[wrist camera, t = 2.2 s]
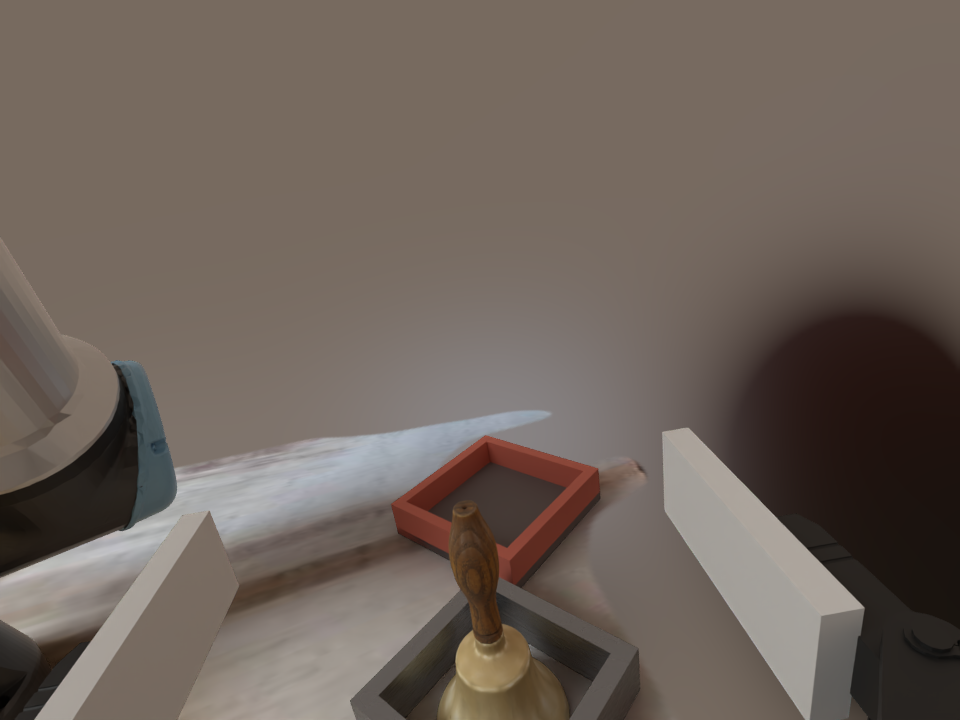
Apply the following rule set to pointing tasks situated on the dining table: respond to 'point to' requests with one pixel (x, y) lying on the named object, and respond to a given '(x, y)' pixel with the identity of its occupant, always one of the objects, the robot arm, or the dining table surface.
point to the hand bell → (492, 640)
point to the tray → (502, 502)
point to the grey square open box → (541, 627)
